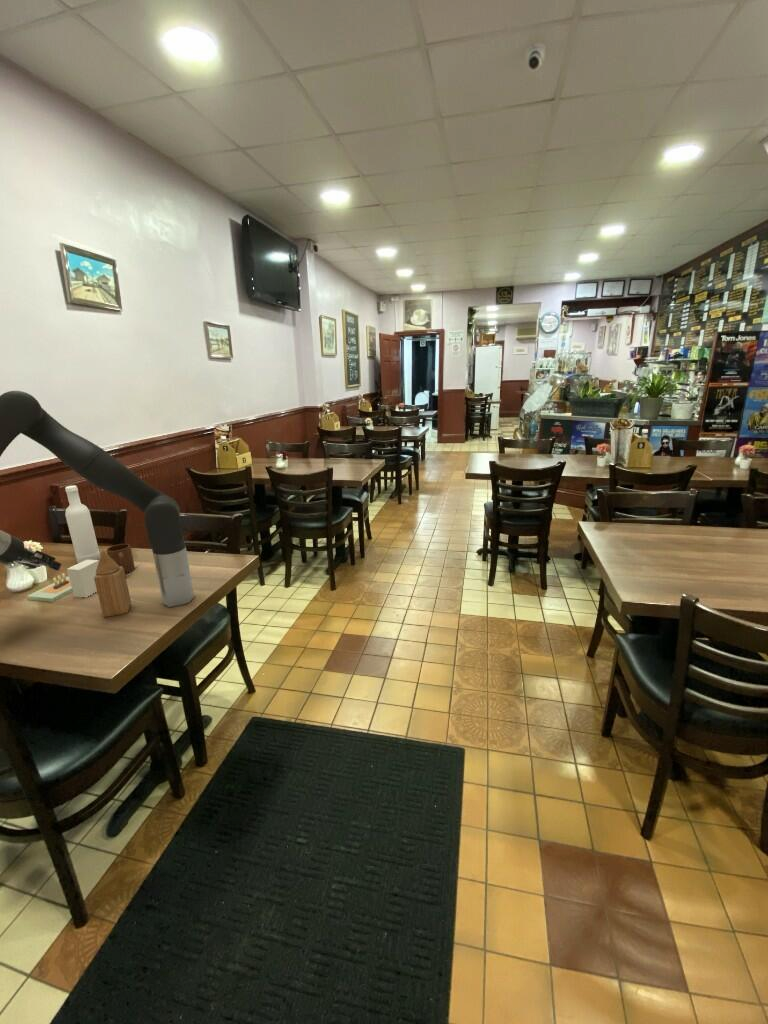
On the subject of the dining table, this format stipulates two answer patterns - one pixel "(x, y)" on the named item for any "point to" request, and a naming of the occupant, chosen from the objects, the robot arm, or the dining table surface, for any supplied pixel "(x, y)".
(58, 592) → the header board
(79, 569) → the housing
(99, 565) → the decorative item
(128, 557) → the mug
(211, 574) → the dining table surface
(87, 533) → the bottle
